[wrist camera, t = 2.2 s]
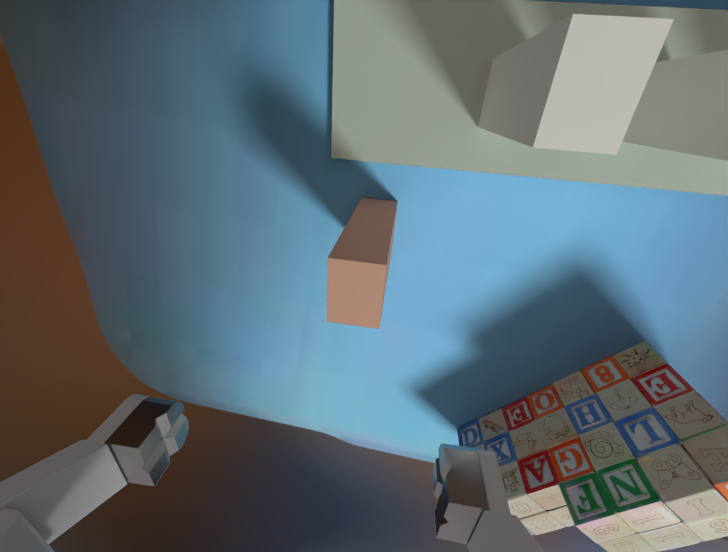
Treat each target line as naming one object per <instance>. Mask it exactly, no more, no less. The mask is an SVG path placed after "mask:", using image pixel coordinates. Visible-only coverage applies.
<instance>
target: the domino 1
mask: <svg viewBox="0 0 728 552" xmlns="http://www.w3.org/2000/svg"><path fill="white" fill-rule="evenodd" d="M396 210H397V201H390V200H381V199H371V198H361V200H360V201H359V203H358V205H357V207H356V208H355V210H354V212H353V214H352V216H351V217H350V219H349V221H348V223H347V225H346V226H345V228H344V230H343V232H342V233H341V235H340V237H339V239H338V241H337V242H336V244H335V246H334V248H333V250H332V251H331V253H330V255H329V257H328V278H327V322H334V323H341V324H348V325H355V326H363V327H370V328H377V329H379V327H380V321H381V315H382V308H383V302H384V295H385V289H386V282H387V276H388V269H389V263H390V256H391V250H392V243H393V235H394V226H395V218H396Z"/></svg>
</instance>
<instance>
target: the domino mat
mask: <svg viewBox="0 0 728 552" xmlns="http://www.w3.org/2000/svg"><path fill="white" fill-rule="evenodd" d="M572 14H585V15H605V16H624V17H644V18H663V19H674V20H673V23H672V25H671V27H670V30H669V32H668V34H667V37H666V39H665V41H664V44H663V46H662V49H661V51H660V53H659V56H658V58H657V60H656V62H660V61H666V60H672V59H677V58H683V57H689V56H695V55H701V54H707V53H713V52H719V51H724V50H728V10H717V9H697V8H676V7H656V6H635V5H614V4H594V3H573V2H552V1H532V0H334V34H333V89H332V145H331V158H336V159H347V160H357V161H368V162H378V163H389V164H399V165H410V166H420V167H431V168H442V169H452V170H463V171H473V172H484V173H494V174H505V175H515V176H526V177H536V178H547V179H558V180H568V181H579V182H589V183H600V184H610V185H621V186H631V187H642V188H652V189H663V190H673V191H684V192H695V193H705V194H716V195H726V196H728V161H725V160H719V159H714V158H708V157H703V156H697V155H692V154H687V153H681V152H676V151H670V150H665V149H659V148H654V147H649V146H643V145H638V144H632V143H627V142H622V143H621V145H620V148H619V150H618V152H617V155H612V154H600V153H589V152H577V151H566V150H554V149H543V148H532V147H530V146H527V145H524V144H522V143H519V142H516V141H514V140H511V139H508V138H506V137H503V136H500V135H498V134H495V133H492V132H489V131H487V130H484V129H481V128H479V127H478V124H479V120H480V115H481V110H482V106H483V101H484V97H485V92H486V87H487V83H488V78H489V74H490V69H491V65H492V60H493V59H494V58H496V57H497V56H499V55H501V54H503V53H504V52H506V51H508V50H510V49H512V48H513V47H515V46H517V45H519V44H520V43H522V42H524V41H526V40H528V39H529V38H531V37H533V36H535V35H536V34H538V33H540V32H542V31H544V30H545V29H547V28H549V27H551V26H552V25H554V24H556V23H558V22H560V21H561V20H563V19H565V18H567V17H568V16H570V15H572Z"/></svg>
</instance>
